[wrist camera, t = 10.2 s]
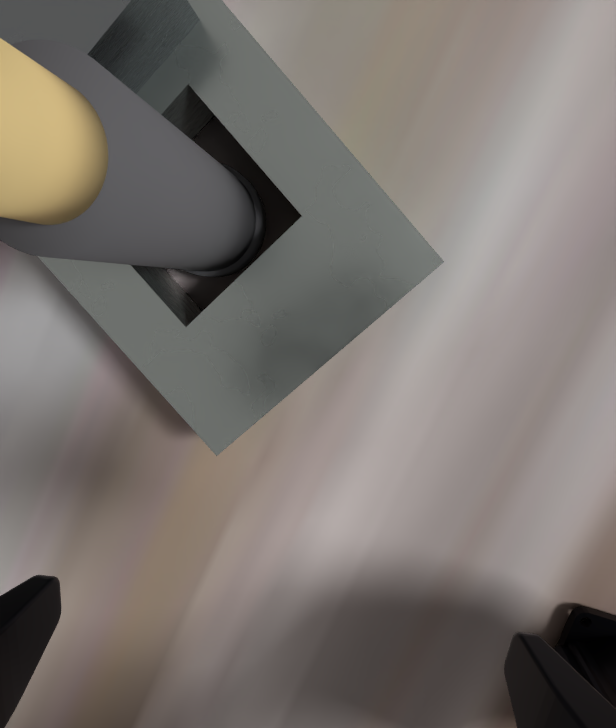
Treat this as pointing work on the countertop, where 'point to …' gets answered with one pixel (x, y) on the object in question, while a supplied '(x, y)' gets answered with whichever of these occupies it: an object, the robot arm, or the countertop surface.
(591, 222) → the countertop surface
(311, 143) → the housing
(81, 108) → the plug
